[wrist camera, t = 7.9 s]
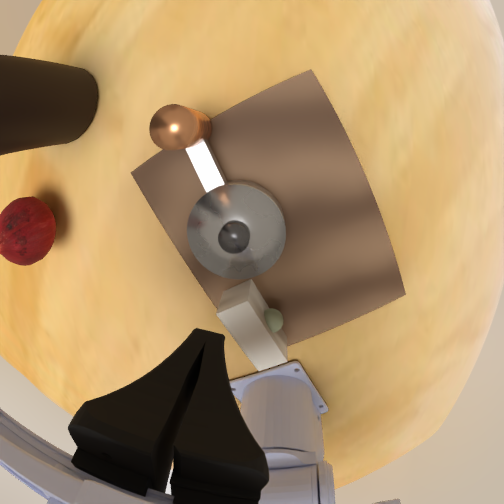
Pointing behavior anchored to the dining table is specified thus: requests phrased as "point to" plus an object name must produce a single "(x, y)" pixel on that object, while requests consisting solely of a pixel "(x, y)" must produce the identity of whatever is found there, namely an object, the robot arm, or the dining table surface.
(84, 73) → the bottle
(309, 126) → the stand
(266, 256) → the grey and brown piece
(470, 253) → the dining table surface
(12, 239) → the onion
